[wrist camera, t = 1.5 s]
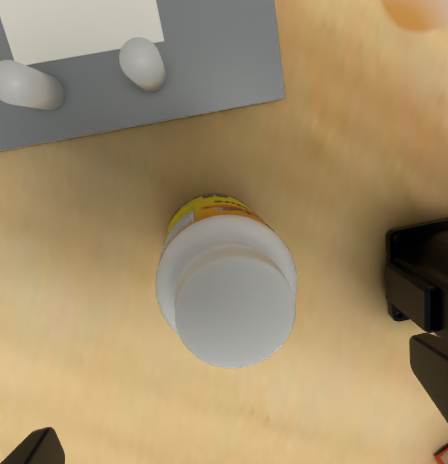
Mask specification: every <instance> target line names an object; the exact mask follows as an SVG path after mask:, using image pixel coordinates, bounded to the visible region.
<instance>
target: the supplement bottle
mask: <svg viewBox="0 0 448 464" xmlns="http://www.w3.org/2000/svg"><path fill="white" fill-rule="evenodd" d="M296 290H297V273H296V267H295V264H294V260H293V258H292V255H291V253H290V251H289V249H288V248H287V246H286V245H285V243H284V242H283V241H282V240H281V238H280V237H279V236H278V235H277V234H276V233H275V232H274V231H273V230H272V229H271V228H270V227H269V226H268V225H267V224H266V223H265V222H264V221H263V220H262V219H260V218H259V217H258V216H257V215H256V214H255V213H254V212H253V211H251V210H250V209H249V208H248V207H247V206H246V205H245V204H243V203H242V202H240V201H239V200H237V199H235V198H233V197H231V196H227V195H223V194H205V195H200V196H198V197H195V198H193V199H191V200H189V201H188V202H186V203H185V204H184V205H183V206H181V207H180V208H179V209H178V210H177V212H176V213H175V214H174V216H173V218H172V220H171V221H170V224H169V226H168V230H167V234H166V237H165V241H164V245H163V249H162V253H161V257H160V261H159V265H158V269H157V275H156V296H157V300H158V304H159V307H160V310H161V312H162V314H163V316H164V318H165V320H166V321H167V323H168V324H169V325H170V327H171V328H172V329H173V330H174V331H175V332H176V333H177V334H178V335H179V336H180V338H181V340H182V342H183V343H184V345H185V346H186V347H187V349H188V350H189V351H190V352H192V353H193V354H194V355H195V356H196V357H198V358H199V359H201V360H202V361H204V362H206V363H208V364H211V365H214V366H218V367H223V368H241V367H246V366H250V365H254V364H256V363H259V362H261V361H263V360H265V359H266V358H268V357H270V356H271V355H272V354H273V353H275V352H276V351H277V350H278V349H279V348H280V347H281V346H282V345H283V343H284V342H285V340H286V339H287V337H288V336H289V334H290V332H291V330H292V327H293V324H294V320H295V313H296V304H295V296H296Z"/></svg>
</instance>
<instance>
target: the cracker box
mask: <svg viewBox="0 0 448 464" xmlns="http://www.w3.org/2000/svg"><path fill="white" fill-rule="evenodd" d="M435 459H436V461H437V462H438V464H448V448H446V449H445V450H444V451H442V452H441V453H440V454H438V455H437V456H436V457H435Z"/></svg>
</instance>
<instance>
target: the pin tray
mask: <svg viewBox="0 0 448 464" xmlns="http://www.w3.org/2000/svg"><path fill="white" fill-rule="evenodd" d="M282 99H285V91H284V82H283V73H282V65H281V56H280V48H279V39H278V30H277V22H276V13H275V5H274V0H0V152H1V151H7V150H12V149H18V148H23V147H29V146H34V145H40V144H45V143H51V142H56V141H61V140H67V139H72V138H78V137H83V136H89V135H94V134H100V133H105V132H111V131H116V130H122V129H127V128H132V127H138V126H143V125H149V124H154V123H160V122H165V121H171V120H176V119H182V118H187V117H193V116H198V115H203V114H209V113H214V112H220V111H225V110H231V109H236V108H242V107H247V106H253V105H258V104H264V103H269V102H275V101H279V100H282Z"/></svg>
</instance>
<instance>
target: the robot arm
mask: <svg viewBox="0 0 448 464" xmlns="http://www.w3.org/2000/svg"><path fill="white" fill-rule="evenodd" d="M396 234H397V235H398V236H397V238H396V239H395V240H393V238H394V236H395V235H396ZM386 249H387V263H386V265H385V278H386V298H387V300H388V301H389V315H390V317H391V318H392V319H394V320H395V321H404V320H409V319H411V320H412V321H413V322H414V323H416V324H417V325H418V326H419V327H420V328H421V329H423V330H424V331H425V332H427V333H422V334H418V335H414V336H412V337H411V338H410V340H409V347H410V365H411V368H412V370H413V372H414V374H415V376H416V377H417V378H418V380H419V381H420V383H421V384H422V386H423V387H424V389H425V390H426V392H427V393H428V395H429V396H430V398H431V399H432V401H433V402H434V403H435V405H436V406H437V408H438V409H439V411H440V412H441V414H442V415H443V417H444V418H445V420H446V421H447V422H448V218H445V219H440V220H435V221H430V222H425V223H420V224H415V225H410V226H405V227H400V228H395V229H392V230H390V231H389V232H388V233H387V235H386ZM398 312H399V314H398V315H396V314H397V313H398ZM433 332H434V333H435V334H436V335H437V336H435V335H432V334H429V333H433ZM438 336H439V337H438ZM0 464H65V454H64V450H63V448H62V446H61V443H60V441H59V439H58V437H57V434H56V432H55V430H54V429H53V428H52V427H46V428H42V429H38V430H35V431H33V432H32V433H31V434H29V435H28V436H27V437H26V438H25V439H24V440H23V441H22V442H21V443H20V444H19V445H18V446H17V447H16V448H15V449H14V450H13V451H12V452H11V453H10V454H9V455H8V456H7V457H6V458H5V459H4V460H3V461H2V462H1V463H0Z"/></svg>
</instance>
